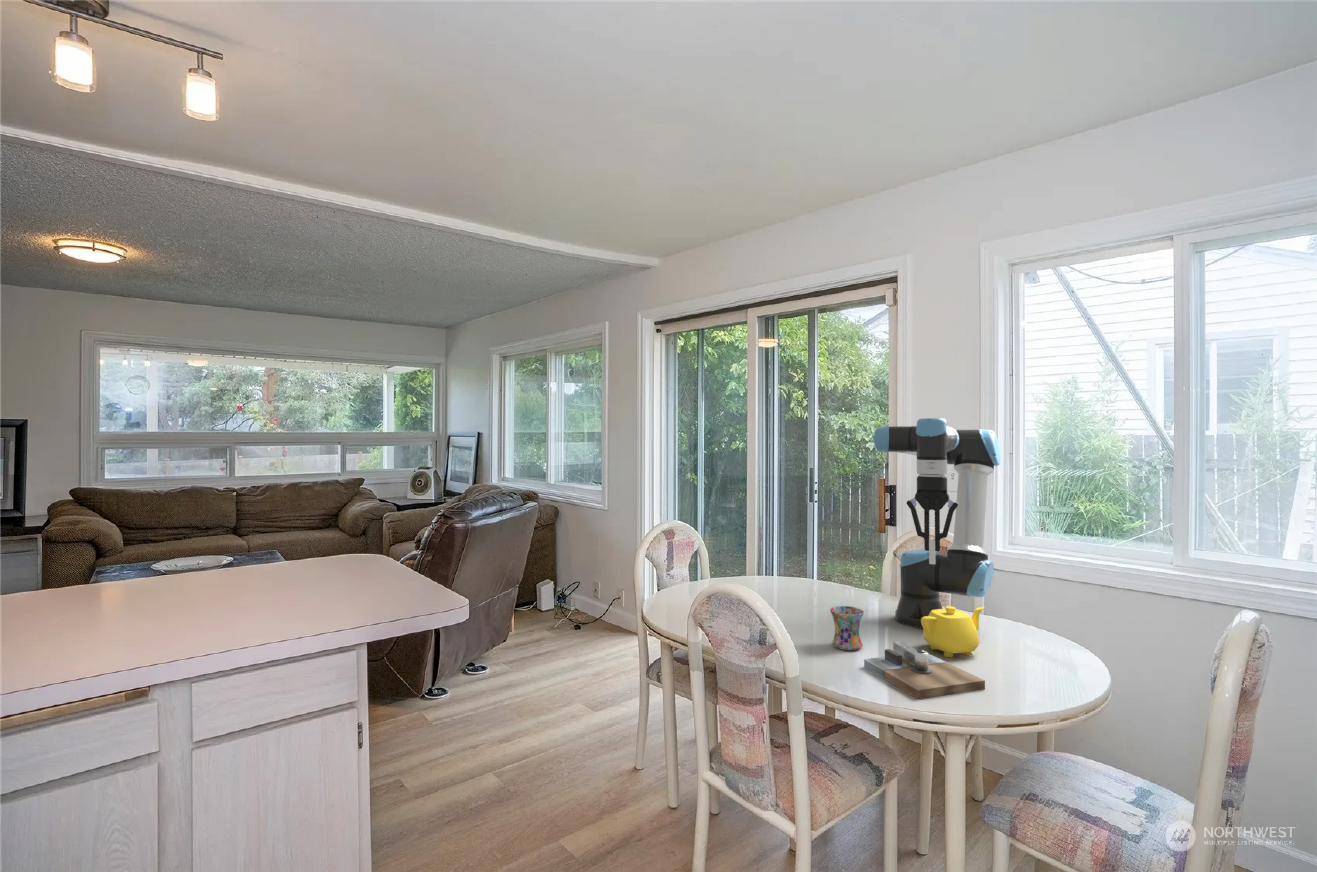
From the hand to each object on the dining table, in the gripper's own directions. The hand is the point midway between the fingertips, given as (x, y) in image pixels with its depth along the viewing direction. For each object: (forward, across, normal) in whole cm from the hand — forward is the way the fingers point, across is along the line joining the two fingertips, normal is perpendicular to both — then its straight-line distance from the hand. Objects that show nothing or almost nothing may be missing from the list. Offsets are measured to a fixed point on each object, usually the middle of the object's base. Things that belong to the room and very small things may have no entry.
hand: (932, 563), depth 170 cm
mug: (+27, -23, +4) cm, 35 cm away
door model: (+26, -2, -14) cm, 30 cm away
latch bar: (+24, -5, -10) cm, 26 cm away
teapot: (+27, +5, +11) cm, 29 cm away
